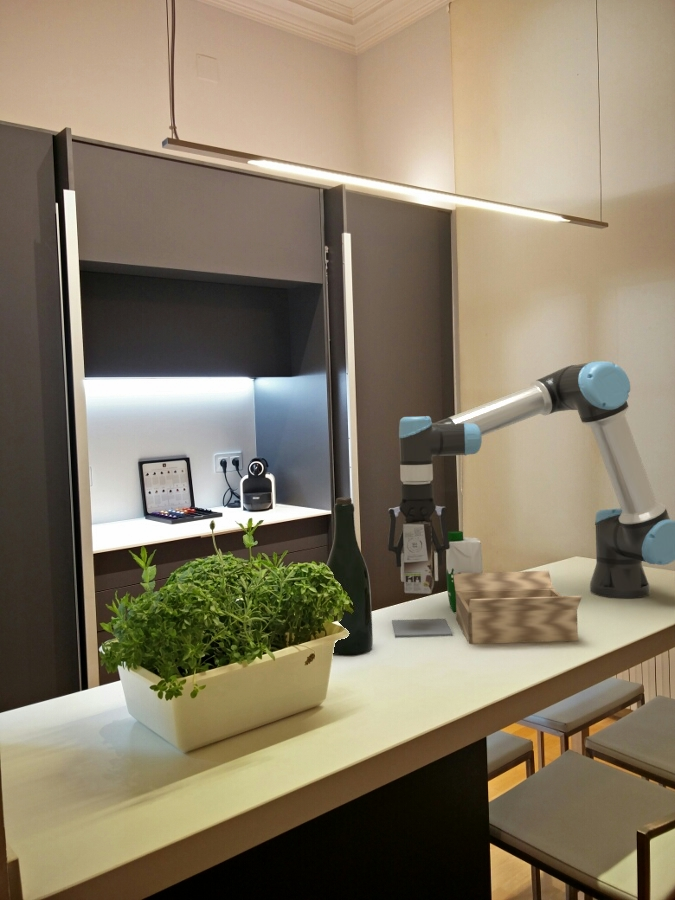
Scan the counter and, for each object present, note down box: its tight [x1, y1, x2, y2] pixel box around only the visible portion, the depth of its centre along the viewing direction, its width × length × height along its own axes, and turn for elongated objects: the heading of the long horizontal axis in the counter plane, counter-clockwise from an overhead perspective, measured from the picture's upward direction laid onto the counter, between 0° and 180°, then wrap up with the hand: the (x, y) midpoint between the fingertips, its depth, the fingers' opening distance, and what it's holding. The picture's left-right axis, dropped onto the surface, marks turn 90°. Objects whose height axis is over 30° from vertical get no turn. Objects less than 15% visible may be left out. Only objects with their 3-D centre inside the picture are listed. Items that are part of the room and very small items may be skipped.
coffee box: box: [402, 518, 435, 595], centre depth 176 cm, size 9×6×16 cm
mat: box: [391, 618, 454, 638], centre depth 177 cm, size 13×13×1 cm
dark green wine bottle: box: [326, 497, 374, 656], centre depth 163 cm, size 10×10×33 cm
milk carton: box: [445, 530, 484, 613], centre depth 194 cm, size 9×9×20 cm
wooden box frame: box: [453, 570, 583, 645], centre depth 174 cm, size 24×27×11 cm
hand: (419, 579), depth 177 cm, fingers closed on coffee box, 7 cm apart
